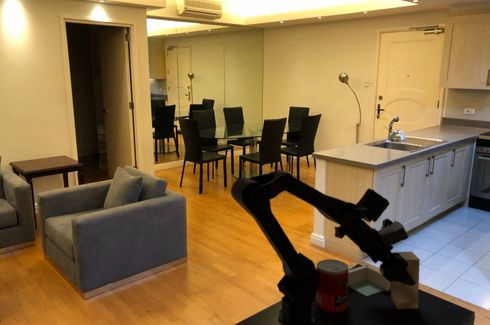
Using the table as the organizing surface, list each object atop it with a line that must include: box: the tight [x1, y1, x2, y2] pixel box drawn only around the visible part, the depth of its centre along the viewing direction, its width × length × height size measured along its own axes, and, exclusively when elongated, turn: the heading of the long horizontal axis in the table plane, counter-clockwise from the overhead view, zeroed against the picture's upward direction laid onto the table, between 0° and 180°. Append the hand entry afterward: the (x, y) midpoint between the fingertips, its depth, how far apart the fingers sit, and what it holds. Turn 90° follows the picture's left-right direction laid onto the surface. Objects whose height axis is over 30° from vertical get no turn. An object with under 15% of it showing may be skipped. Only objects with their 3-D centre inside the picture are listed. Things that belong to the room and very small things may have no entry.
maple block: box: [390, 251, 421, 310], centre depth 102 cm, size 5×5×13 cm
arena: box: [348, 264, 391, 298], centre depth 111 cm, size 13×9×4 cm
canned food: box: [316, 258, 349, 314], centre depth 102 cm, size 8×8×11 cm
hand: (407, 276), depth 102 cm, fingers open, 9 cm apart
